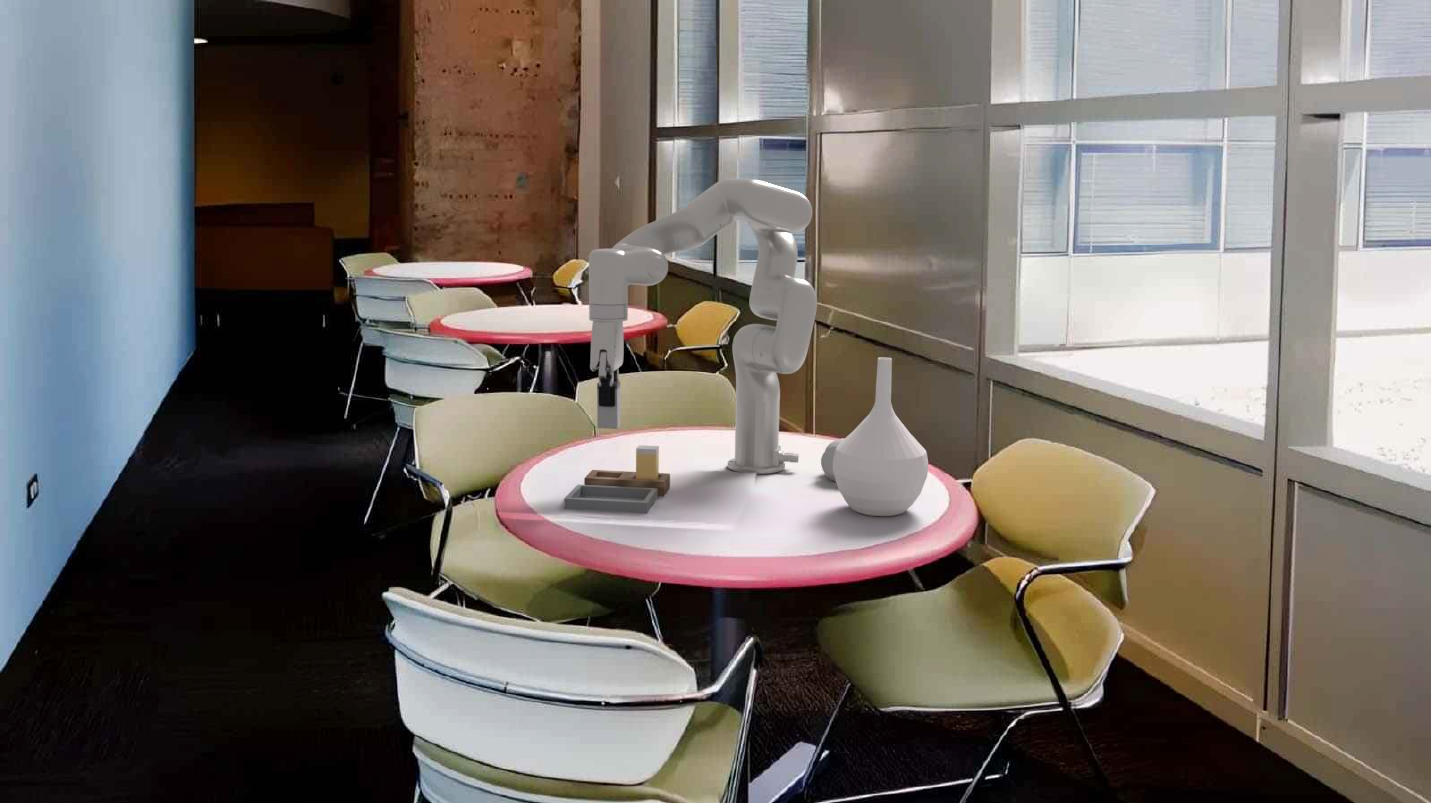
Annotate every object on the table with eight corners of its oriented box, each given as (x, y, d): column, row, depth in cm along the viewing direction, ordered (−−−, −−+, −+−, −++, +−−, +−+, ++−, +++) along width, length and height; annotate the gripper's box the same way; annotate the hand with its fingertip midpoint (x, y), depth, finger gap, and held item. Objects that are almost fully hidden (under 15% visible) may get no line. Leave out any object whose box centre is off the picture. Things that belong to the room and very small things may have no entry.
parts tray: (657, 503, 258) (657, 488, 257) (647, 518, 247) (647, 502, 246) (577, 499, 260) (577, 484, 259) (564, 513, 249) (564, 498, 248)
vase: (832, 521, 247) (838, 364, 242) (829, 496, 265) (834, 350, 260) (931, 524, 246) (938, 367, 241) (921, 499, 264) (928, 352, 259)
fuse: (658, 489, 264) (658, 446, 262) (655, 493, 261) (656, 449, 259) (638, 488, 264) (639, 445, 263) (635, 492, 261) (636, 448, 260)
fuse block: (669, 492, 266) (669, 473, 265) (663, 501, 259) (664, 481, 258) (592, 488, 268) (592, 469, 267) (584, 497, 261) (584, 477, 260)
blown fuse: (620, 425, 263) (620, 381, 261) (617, 428, 260) (617, 384, 258) (600, 425, 263) (600, 380, 262) (597, 428, 260) (597, 383, 259)
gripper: (598, 307, 266) (599, 396, 269) (580, 317, 250) (580, 411, 253) (635, 308, 265) (635, 397, 268) (618, 318, 249) (619, 413, 252)
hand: (608, 403), depth 261 cm, fingers closed on blown fuse, 3 cm apart
